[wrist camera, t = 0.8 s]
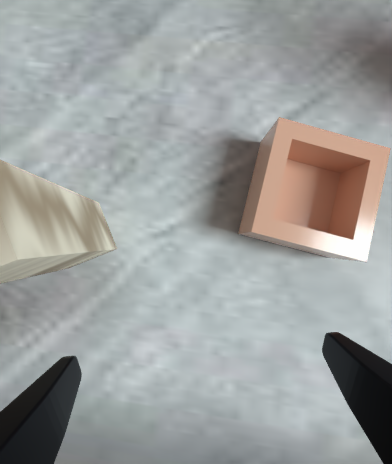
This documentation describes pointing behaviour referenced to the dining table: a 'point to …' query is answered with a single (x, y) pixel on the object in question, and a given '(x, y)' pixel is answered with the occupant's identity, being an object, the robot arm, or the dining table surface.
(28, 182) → the birch block
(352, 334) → the dining table surface
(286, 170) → the socket
